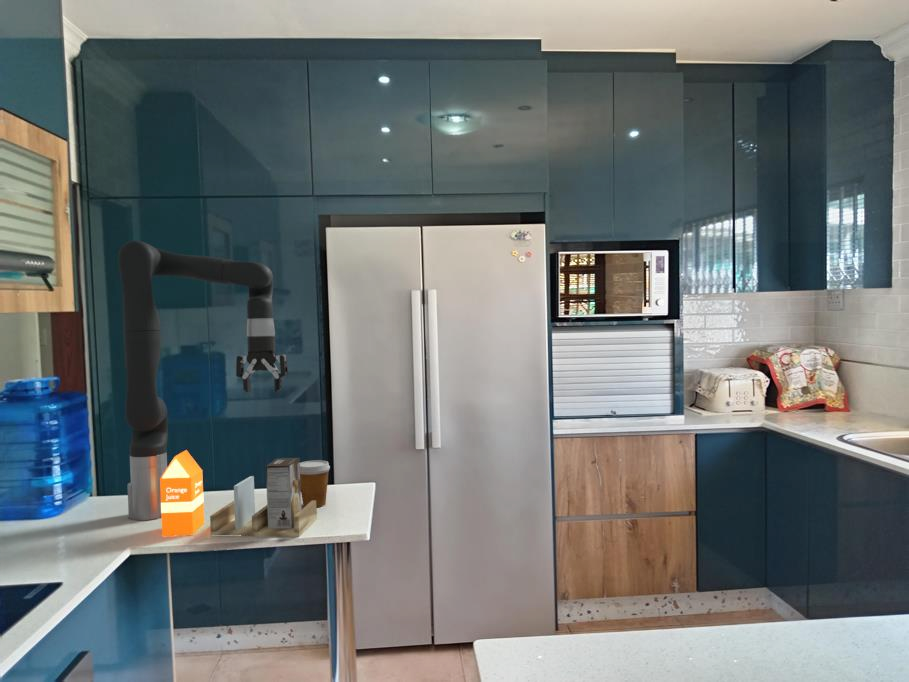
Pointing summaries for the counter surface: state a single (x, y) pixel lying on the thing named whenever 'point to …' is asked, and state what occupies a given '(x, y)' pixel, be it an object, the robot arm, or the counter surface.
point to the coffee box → (283, 492)
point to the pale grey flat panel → (244, 502)
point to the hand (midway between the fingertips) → (262, 391)
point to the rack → (260, 522)
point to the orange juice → (182, 496)
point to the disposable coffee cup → (314, 481)
